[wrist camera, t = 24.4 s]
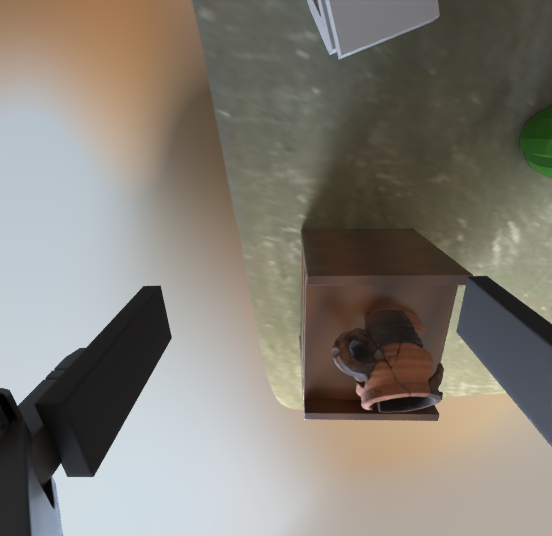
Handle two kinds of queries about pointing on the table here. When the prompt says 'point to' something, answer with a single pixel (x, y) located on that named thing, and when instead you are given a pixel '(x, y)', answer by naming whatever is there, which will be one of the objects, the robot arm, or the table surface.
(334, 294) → the shelf
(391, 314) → the pottery mug
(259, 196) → the table surface
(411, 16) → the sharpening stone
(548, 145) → the bell pepper
